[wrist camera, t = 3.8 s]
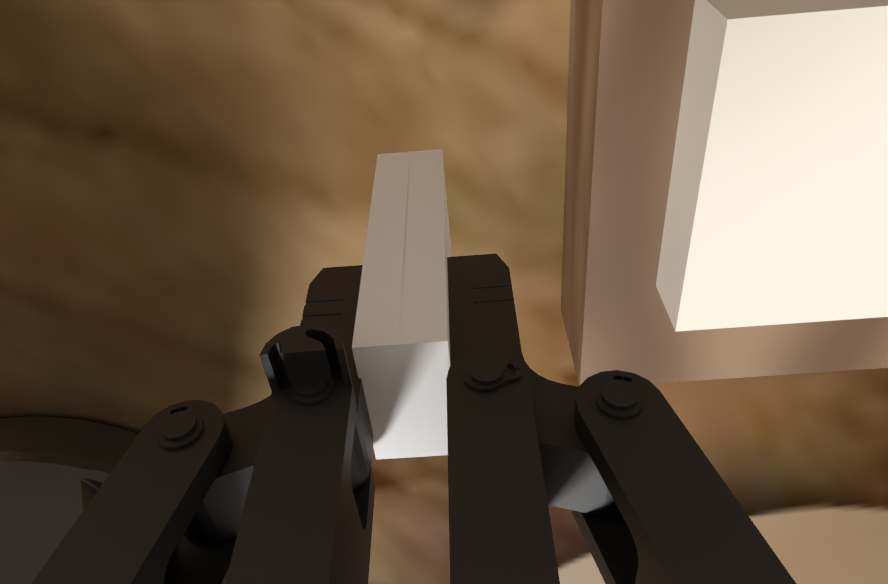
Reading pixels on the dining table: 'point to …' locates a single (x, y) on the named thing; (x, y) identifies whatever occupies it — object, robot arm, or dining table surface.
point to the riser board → (654, 216)
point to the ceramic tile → (779, 166)
